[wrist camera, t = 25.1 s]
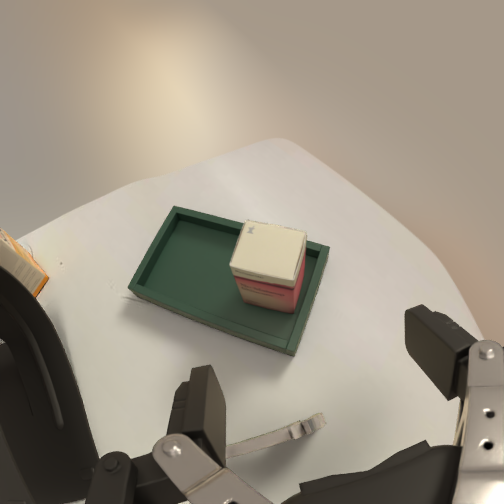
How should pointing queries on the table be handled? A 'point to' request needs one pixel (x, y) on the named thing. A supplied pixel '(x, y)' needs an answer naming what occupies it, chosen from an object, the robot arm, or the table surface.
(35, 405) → the laptop stand
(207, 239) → the tray
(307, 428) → the caliper
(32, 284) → the supplement box
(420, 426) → the table surface
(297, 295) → the small box
